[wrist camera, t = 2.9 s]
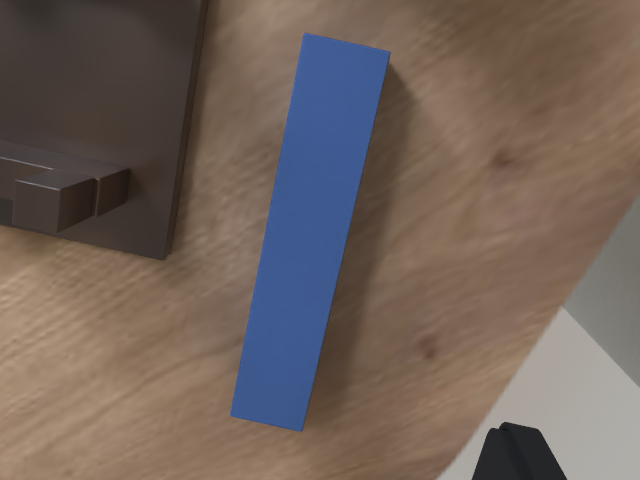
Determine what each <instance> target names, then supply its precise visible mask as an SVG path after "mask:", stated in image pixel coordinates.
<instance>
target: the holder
mask: <svg viewBox="0 0 640 480" xmlns="http://www.w3.org/2000/svg"><path fill="white" fill-rule="evenodd" d="M207 7H208V0H0V225H5V226H10V227H14V228H19V229H23V230H28V231H32V232H37V233H41V234H46V235H50V236H55V237H59V238H64V239H69V240H73V241H78V242H82V243H87V244H91V245H96V246H100V247H105V248H109V249H114V250H118V251H123V252H127V253H132V254H137V255H141V256H146V257H150V258H155V259H159V260H165V259H166V258H167V257H168V256H169V255H170V254H171V248H172V242H173V235H174V228H175V222H176V215H177V208H178V201H179V195H180V188H181V181H182V175H183V168H184V161H185V154H186V148H187V141H188V134H189V128H190V121H191V114H192V107H193V101H194V94H195V87H196V81H197V74H198V67H199V60H200V54H201V47H202V40H203V34H204V27H205V20H206V13H207Z"/></svg>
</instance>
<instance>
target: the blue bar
mask: <svg viewBox="0 0 640 480" xmlns="http://www.w3.org/2000/svg"><path fill="white" fill-rule="evenodd" d="M390 54H391V53H390V52H389V51H385V50H381V49H376V48H371V47H367V46H362V45H358V44H353V43H349V42H344V41H340V40H335V39H331V38H326V37H321V36H317V35H312V34H308V33H304V36H303V41H302V46H301V52H300V57H299V62H298V67H297V72H296V78H295V83H294V88H293V93H292V98H291V103H290V109H289V114H288V119H287V124H286V129H285V134H284V140H283V145H282V150H281V155H280V160H279V166H278V171H277V176H276V181H275V186H274V191H273V197H272V202H271V207H270V212H269V217H268V223H267V228H266V233H265V238H264V243H263V248H262V254H261V259H260V264H259V269H258V274H257V280H256V285H255V290H254V295H253V300H252V305H251V311H250V316H249V321H248V326H247V331H246V336H245V342H244V347H243V352H242V357H241V362H240V368H239V373H238V378H237V383H236V388H235V393H234V399H233V404H232V409H231V414H230V415H231V416H232V417H237V418H241V419H246V420H250V421H255V422H259V423H264V424H268V425H273V426H277V427H282V428H286V429H291V430H295V431H300V432H302V431H303V427H304V423H305V418H306V414H307V410H308V405H309V401H310V397H311V393H312V388H313V384H314V380H315V375H316V371H317V367H318V362H319V358H320V354H321V350H322V345H323V341H324V337H325V332H326V328H327V324H328V320H329V315H330V311H331V307H332V302H333V298H334V294H335V290H336V285H337V281H338V277H339V272H340V268H341V264H342V260H343V255H344V251H345V247H346V242H347V238H348V234H349V230H350V225H351V221H352V217H353V212H354V208H355V204H356V200H357V195H358V191H359V187H360V182H361V178H362V174H363V170H364V165H365V161H366V157H367V152H368V148H369V144H370V140H371V135H372V131H373V127H374V122H375V118H376V114H377V109H378V105H379V101H380V97H381V92H382V88H383V84H384V79H385V75H386V71H387V67H388V62H389V58H390Z"/></svg>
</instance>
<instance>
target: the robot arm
mask: <svg viewBox="0 0 640 480" xmlns="http://www.w3.org/2000/svg"><path fill="white" fill-rule="evenodd" d="M472 480H567V478H566V477H565V475H564V473H563V471H562V469H561V468H560V466H559V464H558V462H557V461H556V459H555V457H554V455H553V454H552V452H551V450H550V448H549V446H548V444H547V443H546V441H545V439H544V437H543V435H542V434H541V432H540V431H539V430H538V429H535V428H531V427H526V426H521V425H517V424H512V423H508V422H504V423H502V424H501V426H500V427H499V429H496V428H491V429H490V430H489V432H488V434H487V436H486V439H485V442H484V445H483V448H482V451H481V454H480V457H479V460H478V463H477V466H476V469H475V472H474V475H473V478H472Z"/></svg>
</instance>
